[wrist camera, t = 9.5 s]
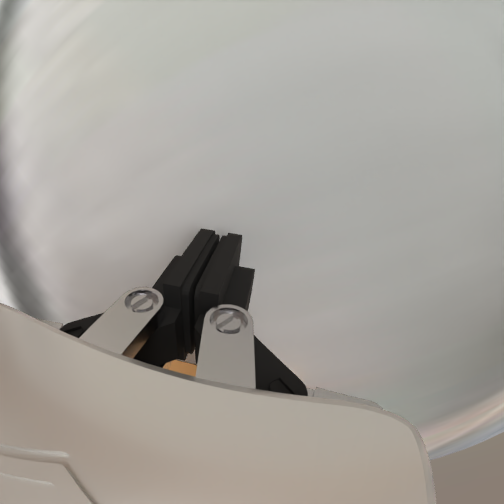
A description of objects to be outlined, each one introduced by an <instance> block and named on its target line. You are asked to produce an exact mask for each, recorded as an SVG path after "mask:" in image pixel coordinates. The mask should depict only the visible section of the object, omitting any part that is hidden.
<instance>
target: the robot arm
mask: <svg viewBox="0 0 504 504" xmlns="http://www.w3.org/2000/svg"><path fill="white" fill-rule="evenodd" d="M241 243H242V235H238V234H232V233H228V235H227V236H222V238H221V240H220V242H219V235H216V234H215V231H213V230H207V229H201V230H200V231H199V232H198V234H197V235H196V236H195V238H194V239H193V241H192V242H191V243H190V245H189V246H188V248H187V249H186V250H185V252H184V253H183V255H182V256H175V257H174V258H173V260H172V261H171V262H170V264H169V265H168V266H167V268H166V269H165V271H164V272H163V273H162V275H161V276H160V278H159V279H158V280H157V282H156V283H155V285H154V286H153V287H152V288H149V287H138V288H134V289H131V290H129V291H127V292H126V293H125V294H123V295H122V296H121V297H120V298H119V299H118V300H117V301H116V302H115V303H114V304H113V305H112V306H111V307H110V308H109V309H108V310H107V311H106V312H105V313H102V314H98V315H95V316H91V317H88V318H84V319H81V320H77V321H74V322H70V323H68V324H66V325H64V326H63V324H62V323H58V322H52V321H47V320H42V319H37V318H33V317H31V316H29V315H27V314H25V313H23V312H21V311H19V310H16V309H14V308H12V307H10V306H7V305H4V304H2V303H0V504H436V496H435V487H434V480H433V474H432V469H431V464H430V460H429V456H428V453H427V450H426V447H425V444H424V441H423V439H422V437H421V435H420V433H419V432H418V430H417V429H416V428H415V427H414V425H412V424H411V423H410V422H409V421H407V420H406V419H404V418H402V417H400V416H398V415H396V414H394V413H391V412H389V411H386V410H383V408H382V407H381V406H379V405H378V404H377V403H375V402H372V401H370V400H365V399H361V398H356V397H352V396H348V395H344V394H340V393H336V392H332V391H329V390H325V389H322V388H318V387H316V389H315V390H313V389H310V388H306V386H305V385H304V383H303V382H302V381H301V380H300V379H299V378H298V377H297V376H296V375H295V374H294V373H293V372H292V371H291V370H290V369H288V368H287V367H286V366H285V365H284V364H283V363H282V362H281V361H280V360H279V359H278V358H277V357H276V356H275V355H274V354H273V353H272V352H271V351H270V350H269V349H268V348H267V347H266V346H265V345H263V344H262V343H261V342H260V341H259V340H258V339H257V338H256V337H255V336H254V329H253V319H252V316H251V315H250V314H249V312H248V307H249V303H250V297H251V292H252V285H253V279H254V272H255V269H251V268H245V267H239V260H240V252H241ZM194 349H195V356H196V364H197V370H196V377H194V376H190V375H186V374H183V373H179V372H175V371H171V370H169V369H170V367H171V361H173V360H176V359H180V360H184V361H185V359H186V356H187V354H188V353H190V354H192V353H193V351H194Z"/></svg>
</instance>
